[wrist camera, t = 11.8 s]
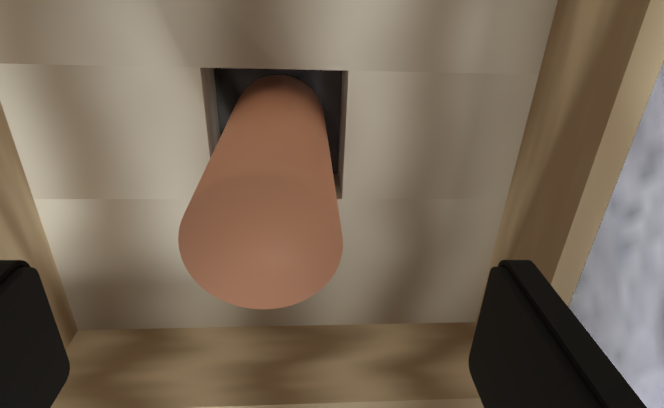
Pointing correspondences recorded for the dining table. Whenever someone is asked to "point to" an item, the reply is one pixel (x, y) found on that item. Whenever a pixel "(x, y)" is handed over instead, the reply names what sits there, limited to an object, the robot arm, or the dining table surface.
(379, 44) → the insert box
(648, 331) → the dining table surface
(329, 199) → the peg
